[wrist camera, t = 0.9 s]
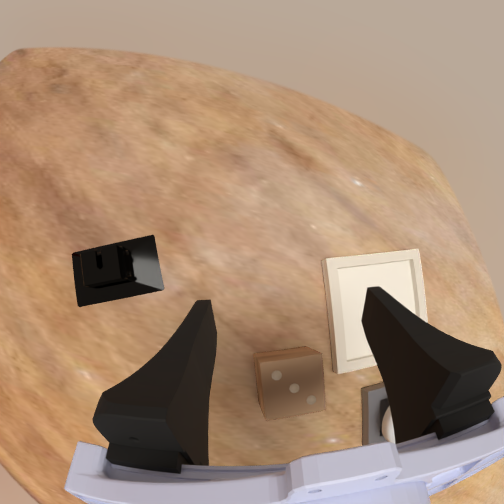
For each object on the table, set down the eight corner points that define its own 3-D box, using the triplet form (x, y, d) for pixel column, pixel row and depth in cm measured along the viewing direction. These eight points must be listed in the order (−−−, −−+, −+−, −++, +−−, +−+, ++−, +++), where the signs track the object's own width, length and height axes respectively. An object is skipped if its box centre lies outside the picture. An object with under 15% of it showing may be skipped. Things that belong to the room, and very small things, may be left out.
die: (309, 394, 27) (326, 410, 22) (258, 402, 26) (266, 421, 22) (305, 346, 28) (322, 353, 23) (253, 353, 27) (259, 362, 22)
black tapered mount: (170, 224, 29) (162, 209, 25) (183, 298, 28) (176, 296, 24) (61, 249, 28) (40, 240, 23) (70, 318, 26) (48, 319, 22)
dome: (419, 428, 25) (446, 442, 20) (373, 445, 25) (396, 464, 20) (421, 380, 26) (450, 388, 21) (373, 395, 26) (399, 408, 21)
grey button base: (414, 426, 27) (422, 430, 25) (362, 444, 26) (368, 450, 25) (415, 372, 28) (423, 374, 27) (361, 388, 27) (368, 391, 26)
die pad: (421, 348, 29) (429, 349, 27) (332, 371, 27) (337, 374, 26) (411, 251, 30) (418, 248, 29) (321, 260, 29) (326, 258, 28)
